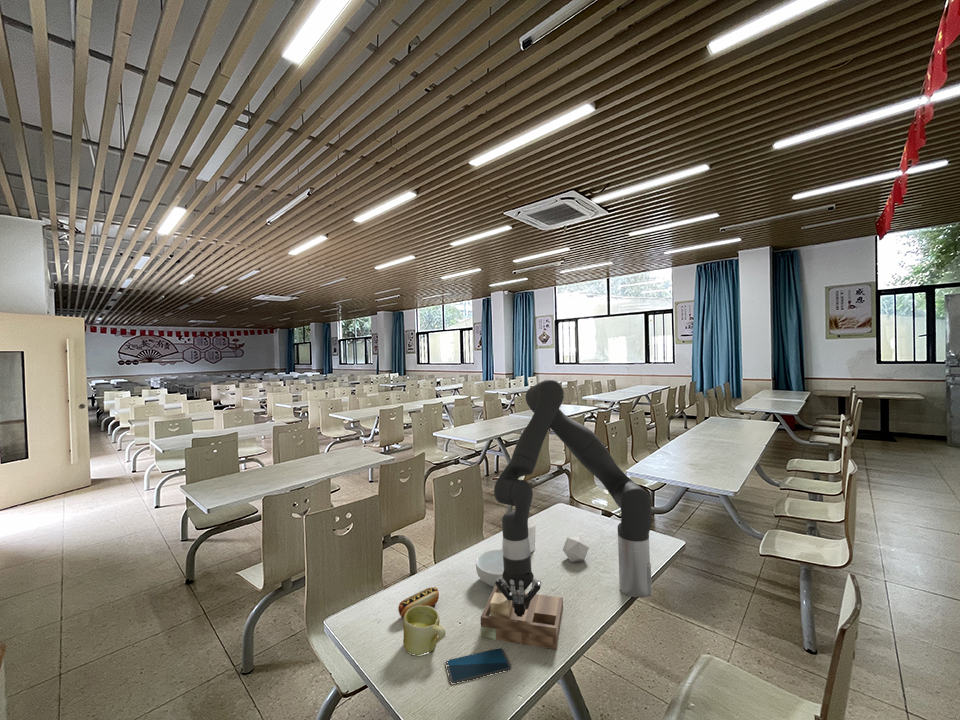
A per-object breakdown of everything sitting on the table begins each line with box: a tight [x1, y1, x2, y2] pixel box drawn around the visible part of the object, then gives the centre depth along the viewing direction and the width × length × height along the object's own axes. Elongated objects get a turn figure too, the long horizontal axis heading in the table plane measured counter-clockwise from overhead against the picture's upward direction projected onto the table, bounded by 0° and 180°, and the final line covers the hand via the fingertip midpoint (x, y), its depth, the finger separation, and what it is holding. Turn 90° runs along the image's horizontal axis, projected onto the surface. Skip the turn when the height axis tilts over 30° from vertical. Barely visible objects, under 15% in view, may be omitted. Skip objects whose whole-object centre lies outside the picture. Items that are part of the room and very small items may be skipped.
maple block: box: [490, 593, 513, 619], centre depth 116 cm, size 5×5×5 cm
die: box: [562, 535, 590, 563], centre depth 152 cm, size 8×9×10 cm
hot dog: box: [397, 586, 440, 619], centre depth 125 cm, size 5×13×5 cm, turn 132°
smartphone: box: [445, 647, 512, 683], centre depth 102 cm, size 8×15×1 cm, turn 105°
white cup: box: [528, 519, 536, 554], centre depth 161 cm, size 8×8×10 cm
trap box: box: [480, 584, 564, 650], centre depth 118 cm, size 20×18×6 cm
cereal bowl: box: [475, 548, 509, 587], centre depth 139 cm, size 17×17×7 cm
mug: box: [402, 605, 447, 656], centre depth 109 cm, size 12×10×10 cm
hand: (520, 614), depth 114 cm, fingers closed
